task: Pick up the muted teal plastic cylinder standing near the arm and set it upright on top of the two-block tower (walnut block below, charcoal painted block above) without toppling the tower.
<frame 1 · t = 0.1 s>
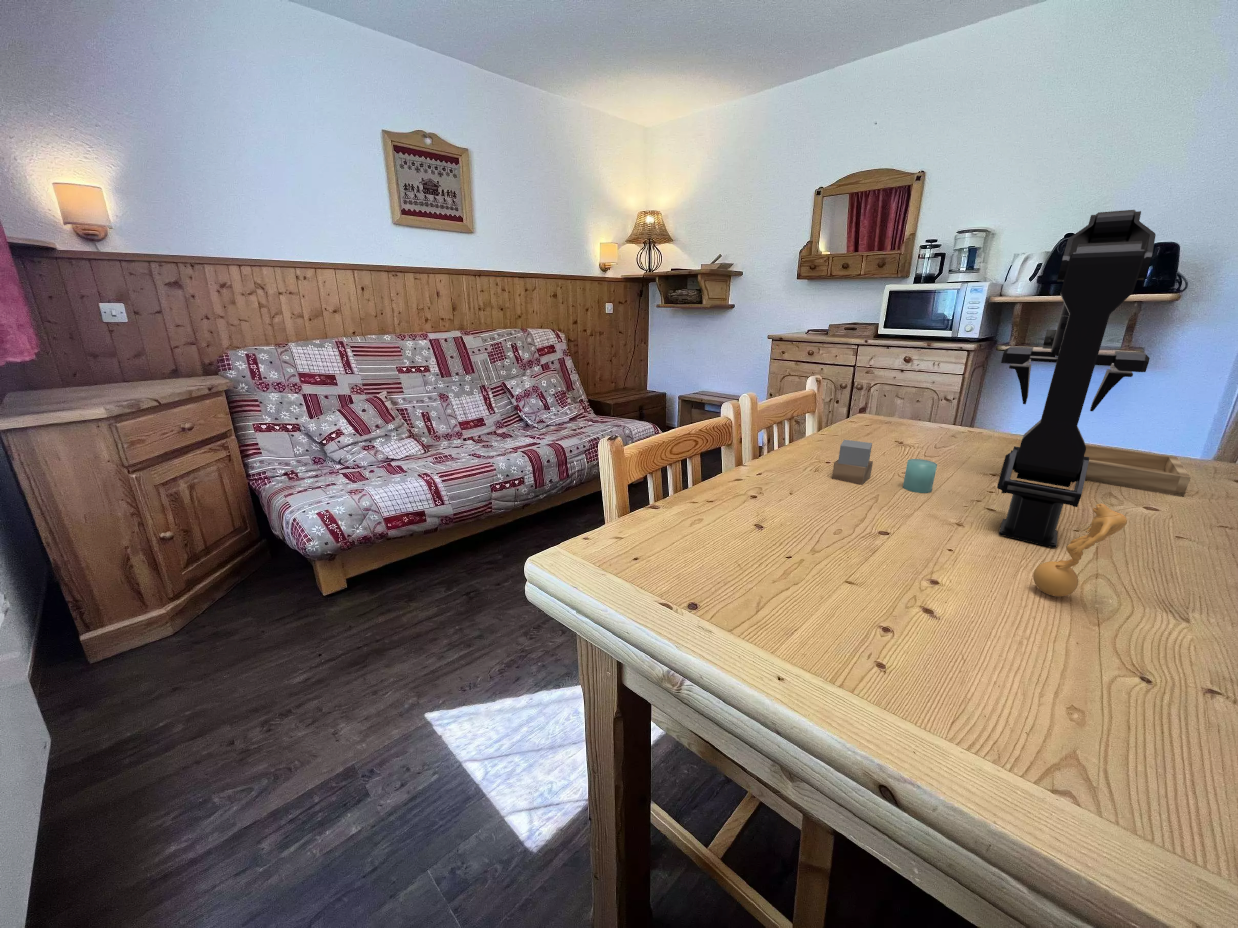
hand: (1056, 407, 89), 15 cm above the table, fingers open, 9 cm apart
figurine: (1061, 598, 58), on the table
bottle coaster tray: (1117, 475, 98), on the table
block upper: (853, 461, 96), point 3 cm above the table, touching block lower
block lower: (851, 478, 97), on the table, touching block upper
teal cylinder: (917, 488, 92), on the table
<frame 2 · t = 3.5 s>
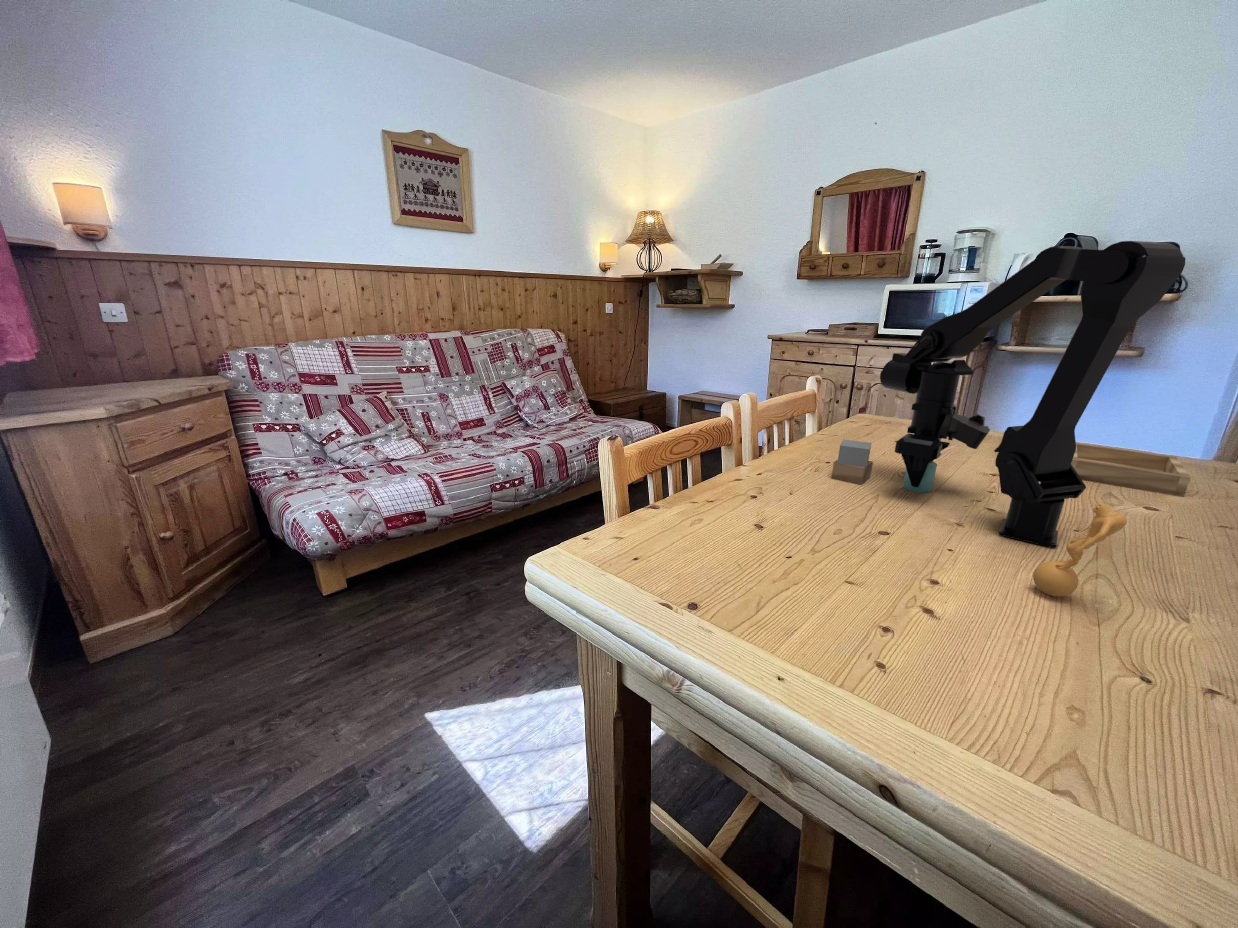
hand: (918, 483, 91), 1 cm above the table, fingers closed on teal cylinder, 5 cm apart
teal cylinder: (917, 488, 92), on the table, touching gripper
everything else where it was.
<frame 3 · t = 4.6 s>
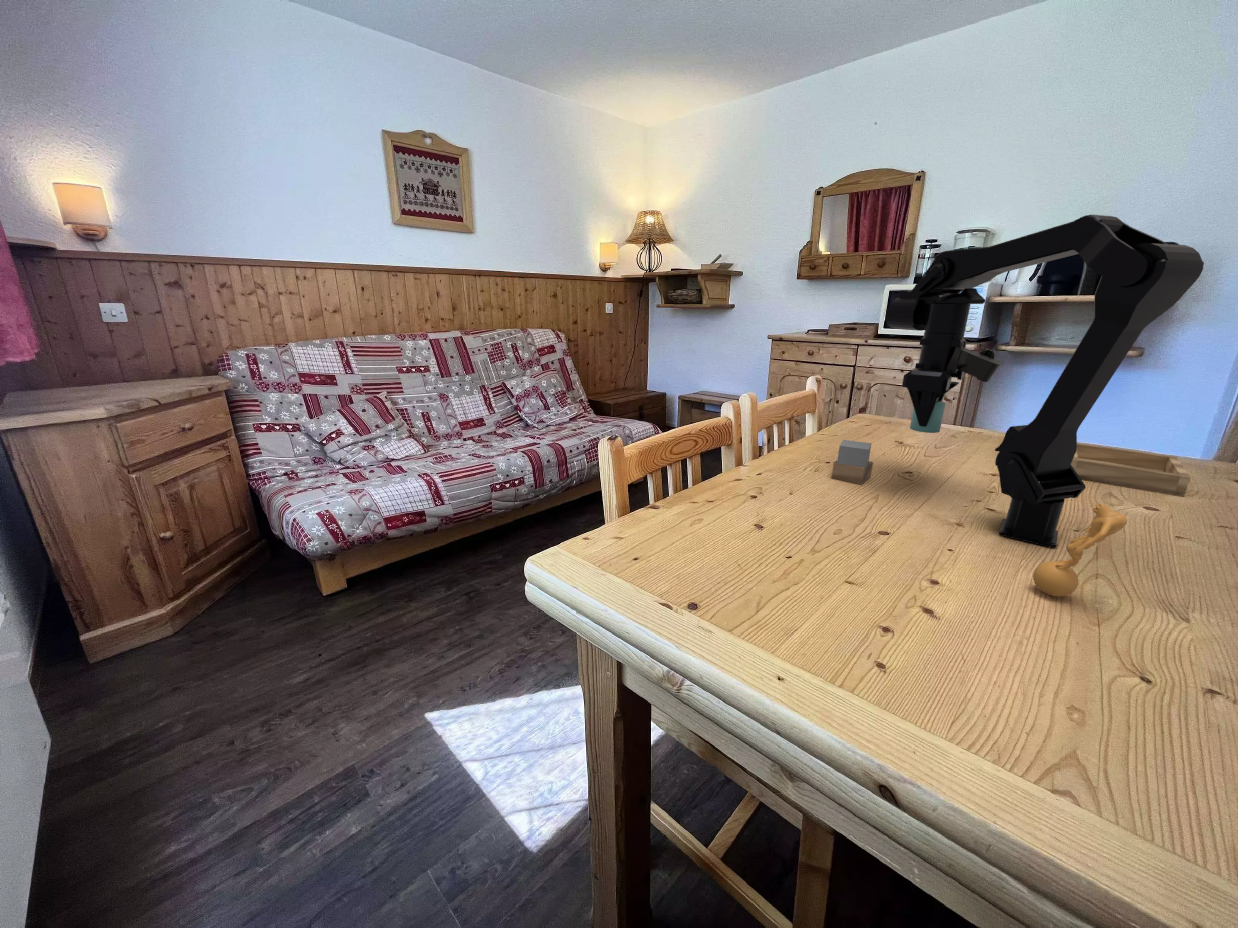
hand: (925, 423, 88), 12 cm above the table, fingers closed on teal cylinder, 5 cm apart
teal cylinder: (924, 429, 88), point 11 cm above the table, touching gripper
everything else where it was.
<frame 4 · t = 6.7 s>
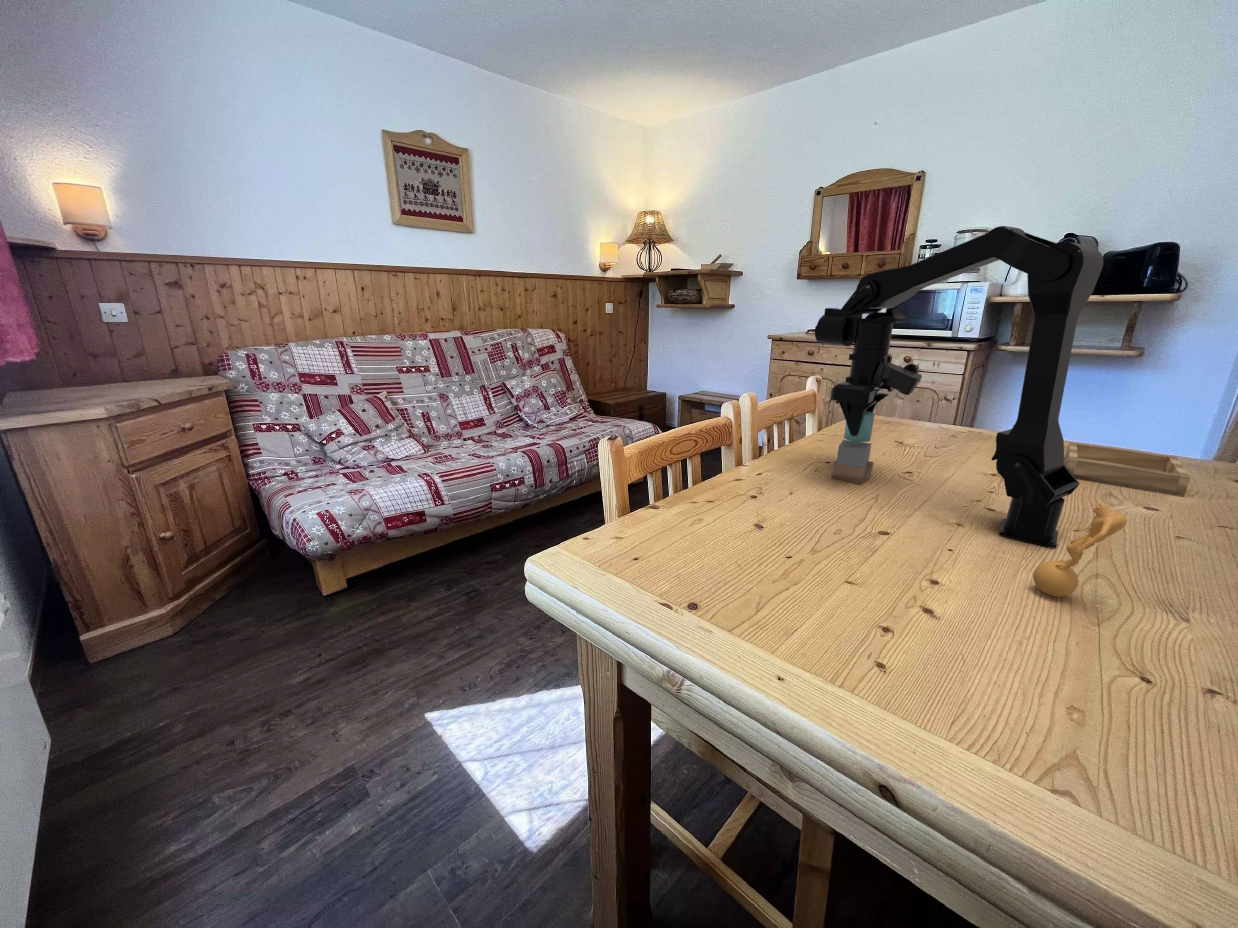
hand: (858, 433, 94), 9 cm above the table, fingers closed on teal cylinder, 5 cm apart
teal cylinder: (856, 438, 94), point 8 cm above the table, touching gripper
everything else where it was.
when the fingers open (9 cm above the table, at t = 6.7 s): teal cylinder stays where it is, resting on block upper.
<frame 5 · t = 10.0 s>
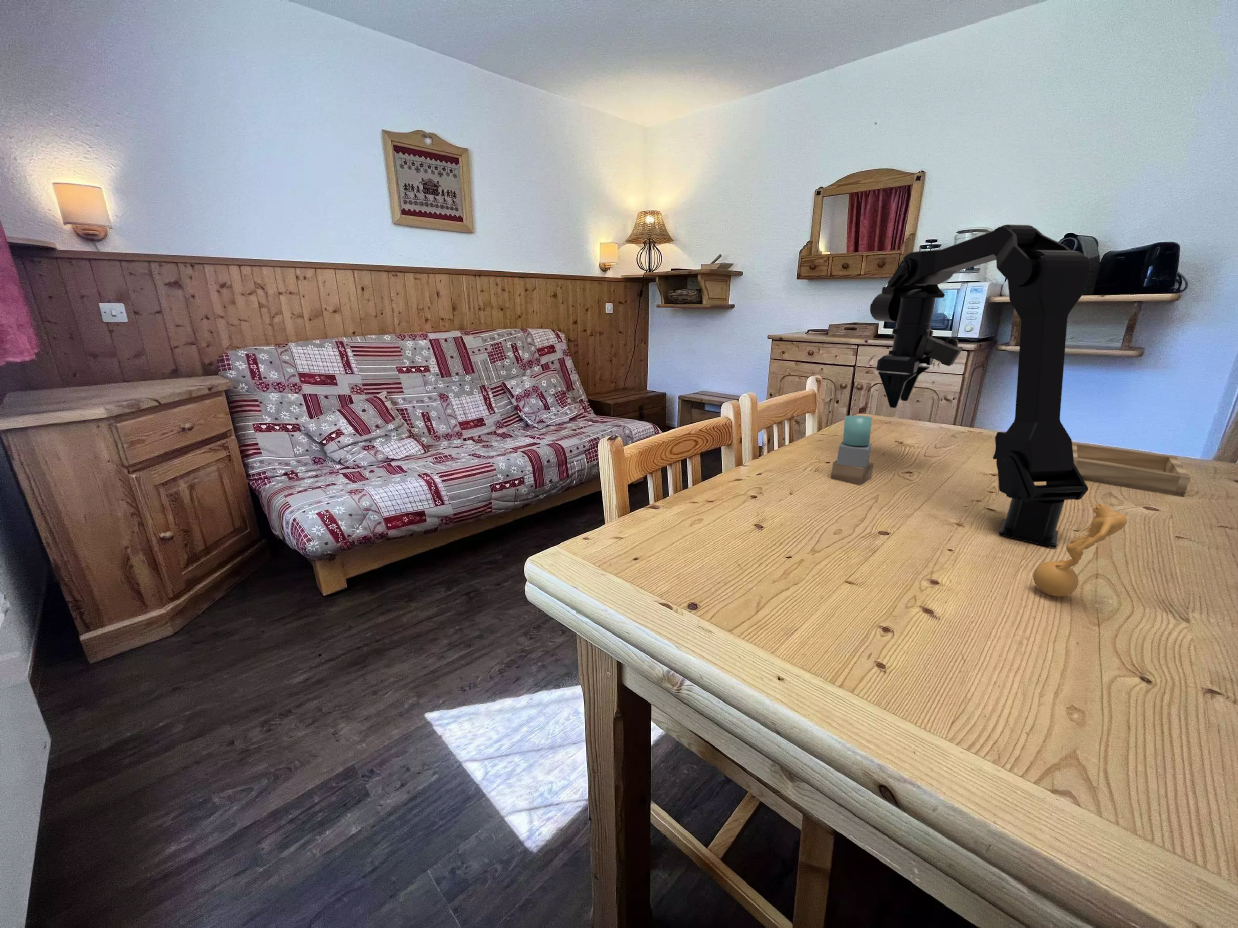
hand: (898, 404, 100), 13 cm above the table, fingers open, 9 cm apart
block upper: (852, 462, 95), point 3 cm above the table, touching block lower, teal cylinder
teal cylinder: (855, 443, 95), point 7 cm above the table, touching block upper
everything else where it was.
at the end: teal cylinder 0.2 cm off-centre on the block lower, point 7.3 cm above the block lower's base; teal cylinder tilted 9°; block upper tilted 0° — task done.
